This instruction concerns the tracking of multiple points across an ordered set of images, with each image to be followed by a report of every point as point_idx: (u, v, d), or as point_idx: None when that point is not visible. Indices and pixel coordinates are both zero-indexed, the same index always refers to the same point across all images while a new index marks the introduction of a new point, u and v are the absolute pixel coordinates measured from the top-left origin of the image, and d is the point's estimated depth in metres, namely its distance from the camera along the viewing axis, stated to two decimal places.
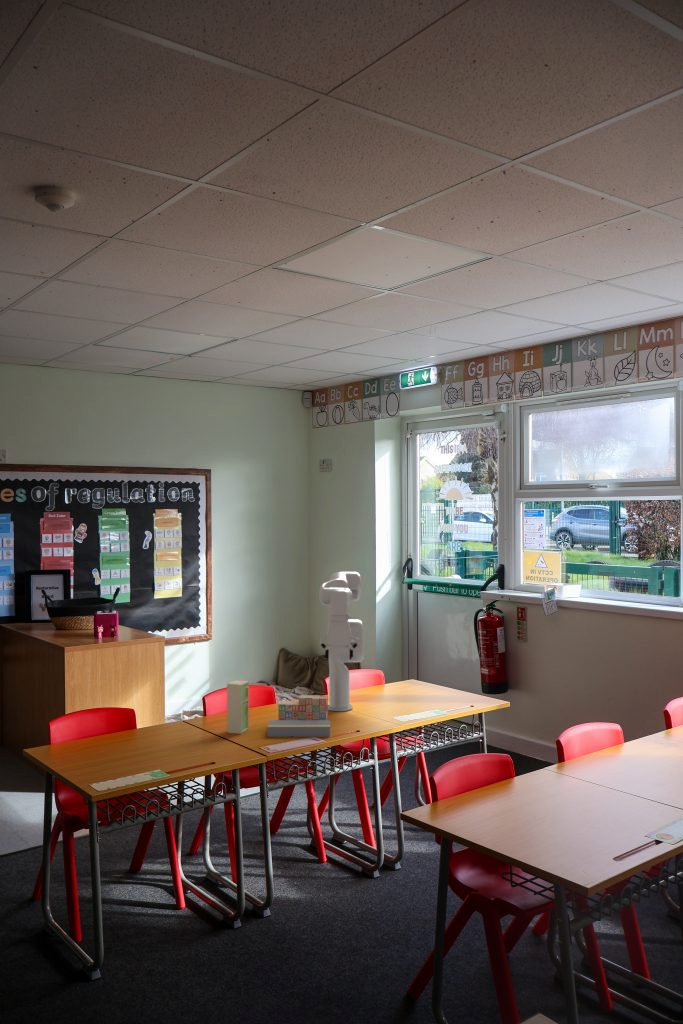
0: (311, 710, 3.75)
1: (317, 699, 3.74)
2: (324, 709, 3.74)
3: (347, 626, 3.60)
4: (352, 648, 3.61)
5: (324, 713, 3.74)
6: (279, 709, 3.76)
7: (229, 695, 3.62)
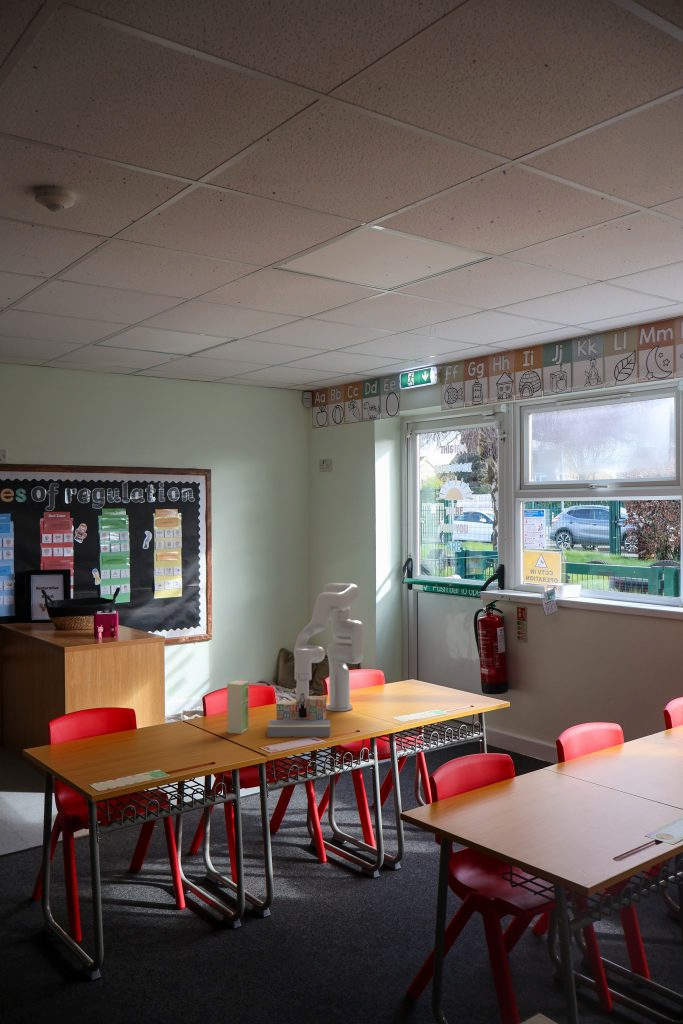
0: (308, 710, 3.73)
1: (314, 700, 3.73)
2: (321, 710, 3.72)
3: None
4: None
5: (321, 714, 3.72)
6: (278, 708, 3.77)
7: (229, 695, 3.62)
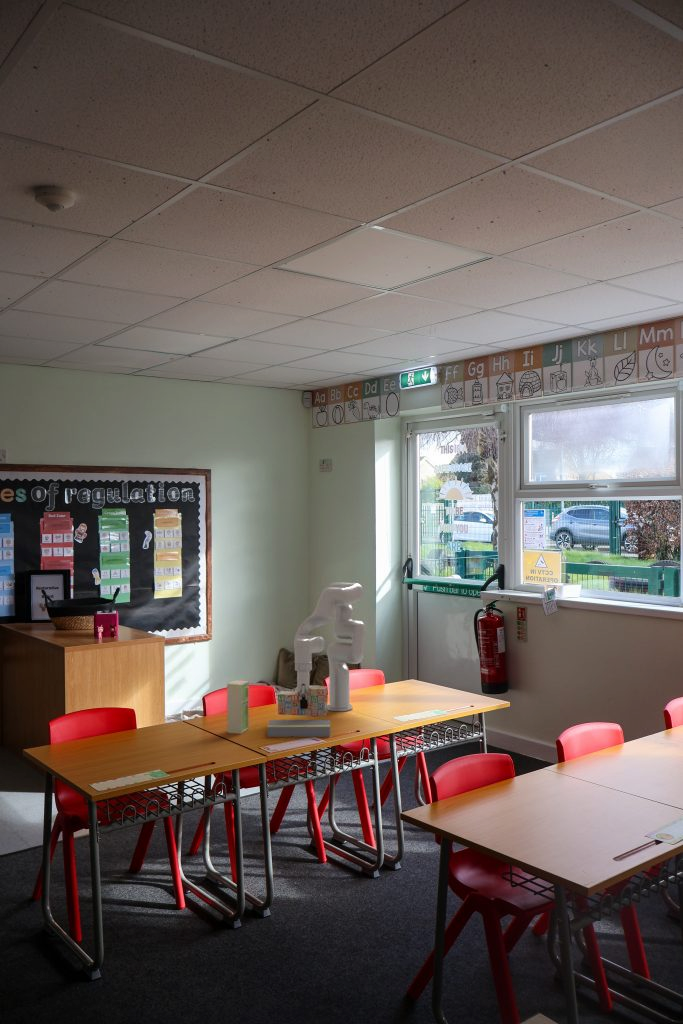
0: (310, 700, 3.75)
1: (315, 689, 3.74)
2: (322, 699, 3.74)
3: None
4: None
5: (322, 703, 3.74)
6: (279, 699, 3.78)
7: (229, 695, 3.62)
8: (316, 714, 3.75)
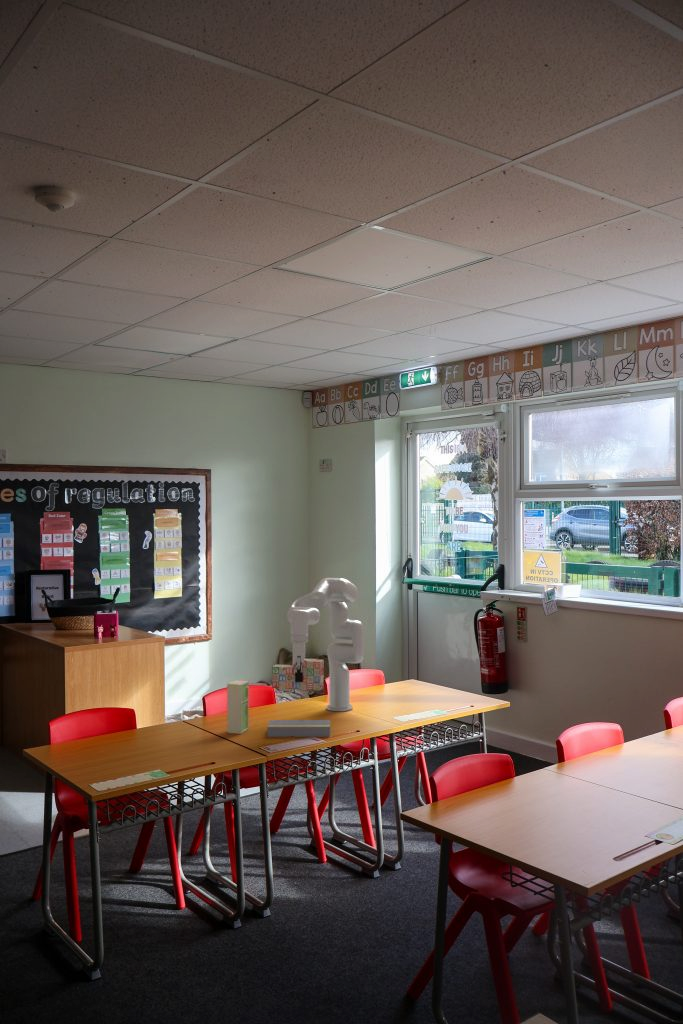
0: (305, 673, 3.60)
1: (311, 662, 3.59)
2: (318, 672, 3.59)
3: None
4: None
5: (318, 677, 3.59)
6: (273, 671, 3.63)
7: (229, 695, 3.62)
8: (311, 688, 3.59)
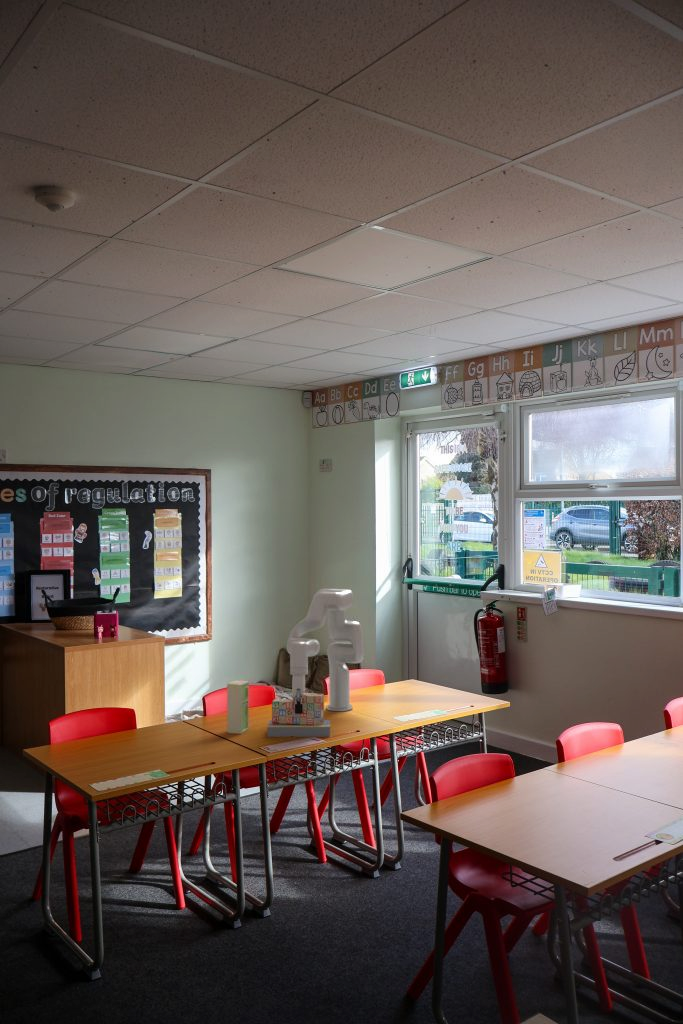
0: (305, 708, 3.59)
1: (312, 696, 3.58)
2: (319, 707, 3.58)
3: None
4: None
5: (319, 711, 3.58)
6: (273, 706, 3.61)
7: (229, 695, 3.62)
8: (312, 723, 3.58)
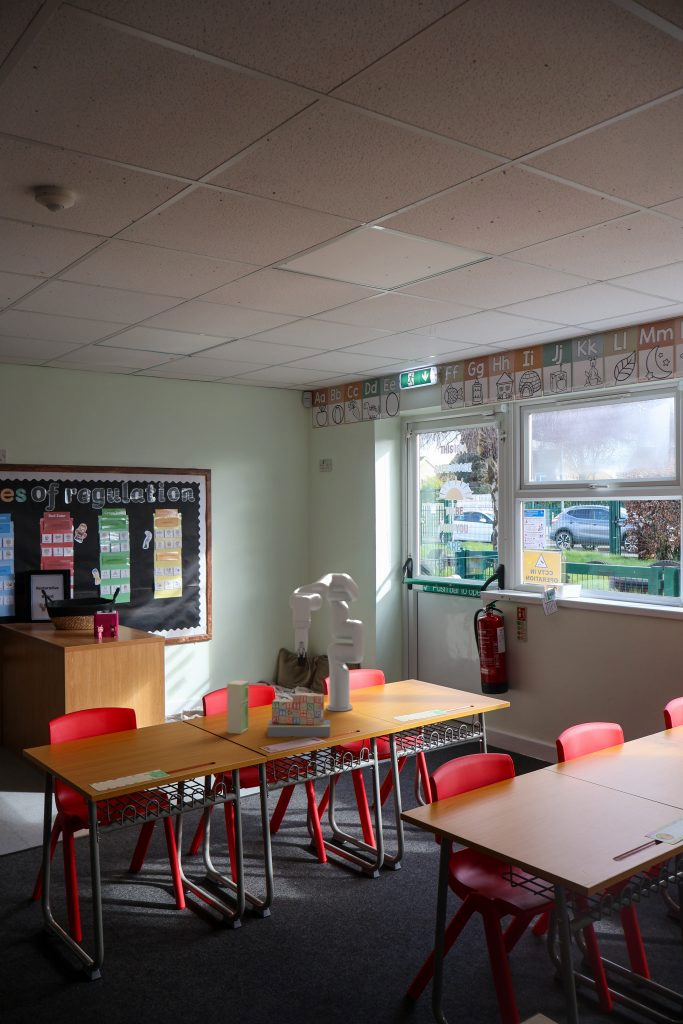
0: (305, 708, 3.59)
1: (312, 696, 3.59)
2: (319, 707, 3.58)
3: None
4: (305, 651, 3.70)
5: (319, 711, 3.58)
6: (273, 706, 3.61)
7: (229, 695, 3.62)
8: (312, 723, 3.58)
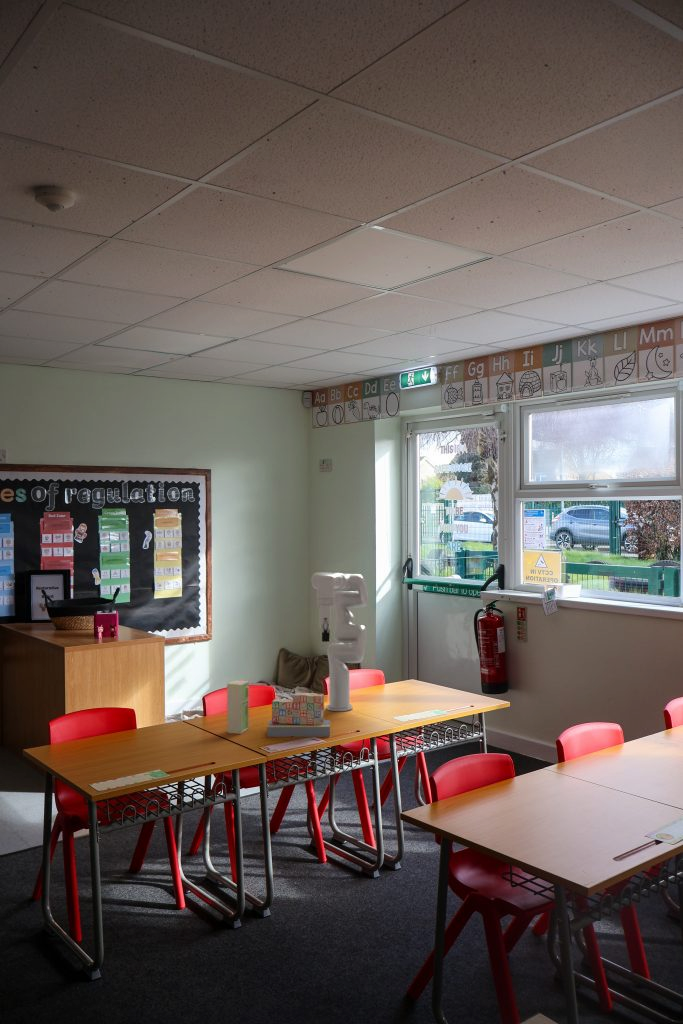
0: (305, 708, 3.59)
1: (312, 696, 3.59)
2: (319, 707, 3.58)
3: None
4: None
5: (319, 711, 3.58)
6: (273, 706, 3.61)
7: (229, 695, 3.62)
8: (312, 723, 3.58)
